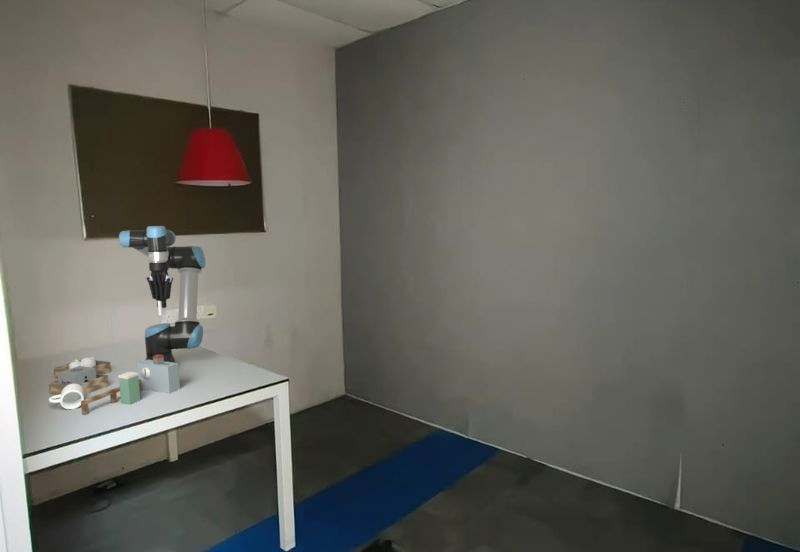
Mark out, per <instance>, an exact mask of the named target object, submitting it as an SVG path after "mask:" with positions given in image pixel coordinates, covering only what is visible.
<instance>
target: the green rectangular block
mask: <svg viewBox="0 0 800 552" xmlns="http://www.w3.org/2000/svg"><path fill="white" fill-rule="evenodd" d="M138 375H139V373H137V372H134V371H127V372H124V373H122V374H118V381H119V386H120V391H119V394H120V403H122V404H123V405H127V406H128V405H129V406H131V405H133V404H136V403H138V402H140V401H141V392H140V391H139V378H138ZM137 401H138V402H137ZM135 402H136V403H135ZM122 404H121V405H122Z"/></svg>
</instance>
